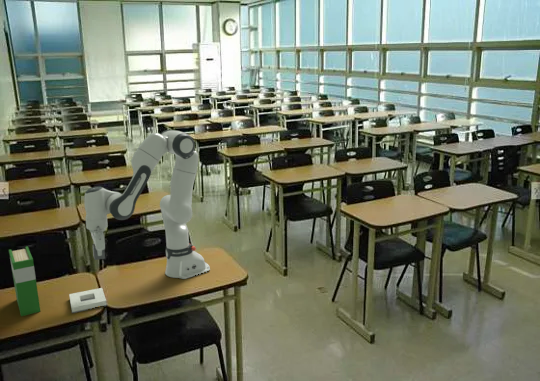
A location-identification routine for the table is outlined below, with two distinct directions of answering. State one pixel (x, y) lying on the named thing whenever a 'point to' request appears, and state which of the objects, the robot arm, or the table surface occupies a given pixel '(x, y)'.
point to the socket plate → (87, 300)
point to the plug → (97, 254)
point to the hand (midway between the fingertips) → (99, 253)
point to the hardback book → (24, 281)
